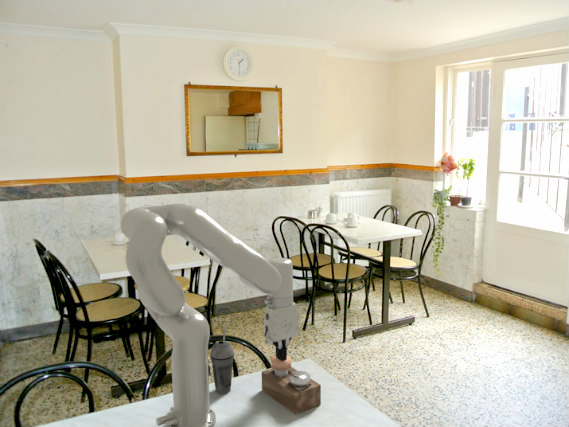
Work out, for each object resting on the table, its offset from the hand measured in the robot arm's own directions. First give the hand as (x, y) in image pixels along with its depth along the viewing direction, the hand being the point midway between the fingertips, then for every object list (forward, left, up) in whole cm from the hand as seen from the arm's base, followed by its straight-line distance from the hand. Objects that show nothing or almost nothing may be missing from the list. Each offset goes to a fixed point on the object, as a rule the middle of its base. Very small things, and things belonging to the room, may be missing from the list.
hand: (281, 358), depth 148 cm
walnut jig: (0, -4, -10) cm, 11 cm away
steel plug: (0, -9, -9) cm, 13 cm away
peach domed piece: (0, 0, -7) cm, 7 cm away
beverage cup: (-14, +11, -10) cm, 21 cm away
